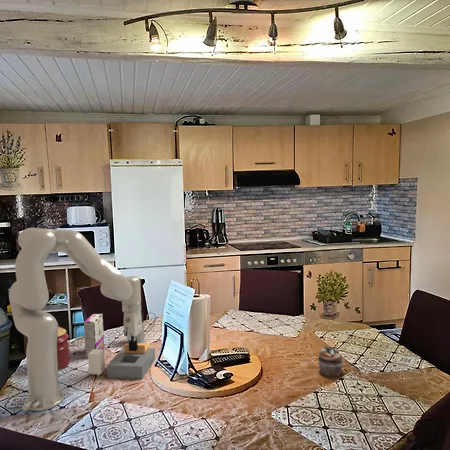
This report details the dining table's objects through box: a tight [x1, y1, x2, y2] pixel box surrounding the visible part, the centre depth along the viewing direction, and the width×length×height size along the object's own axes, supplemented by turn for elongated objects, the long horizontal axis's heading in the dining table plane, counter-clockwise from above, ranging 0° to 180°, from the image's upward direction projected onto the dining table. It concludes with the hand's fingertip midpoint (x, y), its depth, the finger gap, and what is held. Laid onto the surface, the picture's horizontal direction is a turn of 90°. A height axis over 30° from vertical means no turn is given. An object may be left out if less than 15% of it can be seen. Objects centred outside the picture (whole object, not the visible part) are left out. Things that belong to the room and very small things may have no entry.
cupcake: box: [318, 344, 344, 377], centre depth 158 cm, size 10×10×10 cm
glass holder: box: [126, 309, 157, 344], centre depth 193 cm, size 9×14×15 cm, turn 115°
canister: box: [57, 326, 71, 371], centre depth 167 cm, size 13×13×18 cm
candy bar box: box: [83, 313, 105, 359], centre depth 180 cm, size 11×5×16 cm, turn 179°
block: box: [87, 349, 106, 378], centre depth 158 cm, size 5×5×10 cm
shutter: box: [123, 343, 151, 353], centre depth 171 cm, size 8×9×3 cm
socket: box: [106, 346, 156, 380], centre depth 164 cm, size 18×14×5 cm
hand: (133, 350), depth 165 cm, fingers closed
